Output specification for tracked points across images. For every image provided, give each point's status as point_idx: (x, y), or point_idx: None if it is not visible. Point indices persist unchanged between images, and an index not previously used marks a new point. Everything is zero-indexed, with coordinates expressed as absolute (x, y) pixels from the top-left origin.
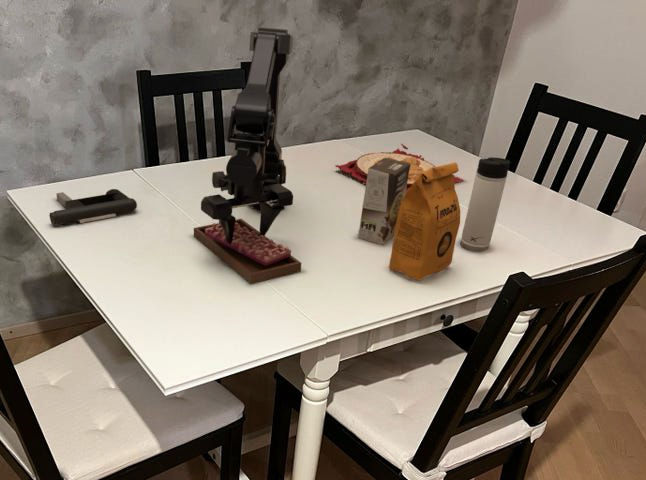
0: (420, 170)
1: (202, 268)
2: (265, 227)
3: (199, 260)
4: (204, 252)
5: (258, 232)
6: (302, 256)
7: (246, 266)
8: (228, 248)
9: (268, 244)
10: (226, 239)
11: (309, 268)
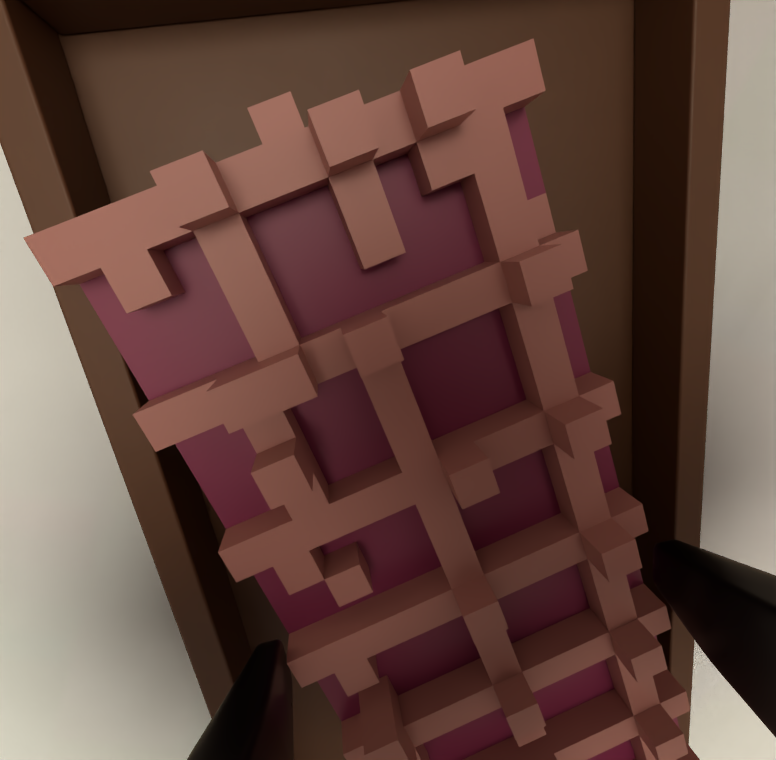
0: None
1: (14, 690)
2: (774, 728)
3: (7, 569)
4: (85, 437)
5: (696, 352)
6: None
7: None
8: None
9: (618, 740)
10: (242, 673)
11: (701, 743)
